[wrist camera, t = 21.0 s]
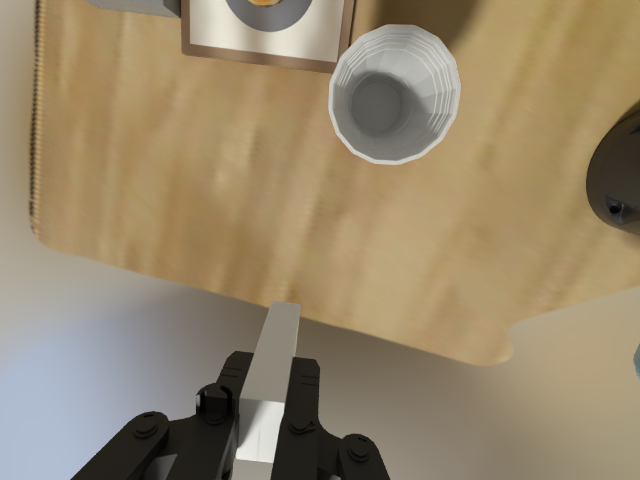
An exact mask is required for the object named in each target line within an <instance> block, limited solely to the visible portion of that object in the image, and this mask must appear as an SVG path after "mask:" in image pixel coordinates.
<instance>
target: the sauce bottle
mask: <svg viewBox="0 0 640 480" xmlns="http://www.w3.org/2000/svg"><path fill="white" fill-rule="evenodd" d="M248 1H249V2H251V3H252V4H254V5H256V6H259V7H265V8H270V7H273V6H275V5H277V4H279V3H281V2H282V1H283V0H248Z"/></svg>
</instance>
